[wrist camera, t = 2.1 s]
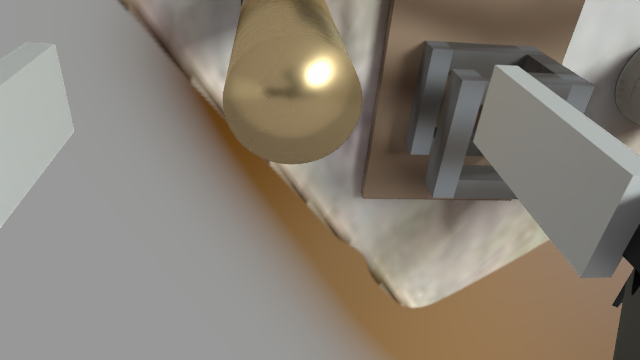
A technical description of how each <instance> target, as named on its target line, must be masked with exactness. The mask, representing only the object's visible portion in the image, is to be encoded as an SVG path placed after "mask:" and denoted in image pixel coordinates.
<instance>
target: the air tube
mask: <svg viewBox="0 0 640 360" xmlns="http://www.w3.org/2000/svg"><path fill="white" fill-rule="evenodd" d="M223 108H224V113H225V117H226V120H227V123H228V125H229V127H230V129H231V131H232V133H233V134H234V136H235V137H236V138H237V139H238V141H239V142H240V143H241V144H242V145H243V146H244V147H246V148H247V149H248V150H249V151H251V152H252V153H254V154H256V155H257V156H259V157H261V158H264V159H266V160H269V161H272V162H276V163H282V164H302V163H308V162H312V161H315V160H318V159H320V158H323V157H325V156H327V155H329V154H330V153H332V152H333V151H335V150H336V149H338V148H339V147H340V146H341V145H342V144H343V143H344V142H345V141H346V140H347V139H348V138H349V136H350V135H351V133H352V132H353V130H354V128H355V126H356V124H357V122H358V119H359V117H360V113H361V108H362V90H361V86H360V82H359V79H358V76H357V74H356V71H355V69H354V67H353V64H352V62H351V60H350V58H349V55H348V53H347V51H346V48H345V46H344V44H343V42H342V39H341V37H340V35H339V32H338V30H337V28H336V26H335V23H334V21H333V19H332V16H331V14H330V12H329V10H328V7H327V5H326V3H325V0H241V12H240V17H239V22H238V26H237V31H236V36H235V40H234V45H233V49H232V54H231V59H230V63H229V68H228V72H227V77H226V82H225V86H224V92H223Z"/></svg>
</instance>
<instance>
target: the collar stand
mask: <svg viewBox="0 0 640 360" xmlns="http://www.w3.org/2000/svg"><path fill="white" fill-rule="evenodd" d="M584 2H585V0H391V5H390V11H389V17H388V24H387V30H386V37H385V43H384V50H383V56H382V62H381V69H380V75H379V82H378V88H377V95H376V101H375V108H374V114H373V120H372V127H371V133H370V140H369V146H368V153H367V159H366V165H365V172H364V178H363V185H362V191H361V193H362V196H363V198H370V199H440V200H510V201H511V200H512V199H518V198H517V197H516V196H515V194H514V193H513V192H512V190H511V189H510V188H509V187H508V185H507V184H506V183H505V182H504V180H503V179H502V178H501V177H500V175H499V174H498V173H497V172H496V170H495V169H494V168H493V166H492V165H491V164H490V163H489V161H488V160H487V159H486V158H485V156H484V155H483V154H482V153H481V151H480V150H479V149H478V148H477V146H476V145H475V144H474V142H473V140H474V136H475V133H476V130H477V126H478V123H479V119H480V116H481V112H482V109H483V105H484V102H485V98H486V95H487V91H488V88H489V84H490V81H491V77H492V74H493V70H494V67H495V65H511V66H519V67H520V68H521V69H523V70H524V71H526V72H527V73H528V74H530V75H531V76H532V77H534V78H535V79H536V80H538V81H539V82H540V83H542V84H543V85H545V86H546V87H547V88H549V89H550V90H551V91H553V92H554V93H555V94H557V95H558V96H560V97H561V98H562V99H564V100H565V101H566V102H568V103H569V104H570V105H572V106H573V107H574V108H576V109H577V110H579V111H580V112H581V113H583V114H584V112H585V110H586V107H587V105H588V102H589V100H590V98H591V95H592V93H593V91H594V88H595V86H594V85H592V84H591V83H589V82H588V81H586V80H584V79H583V78H581V77H580V76H578V75H577V74H575V73H574V72H572V71H571V70H569V69H567V68H566V67H564V66H563V65H562V62H563V59H564V56H565V54H566V51H567V48H568V46H569V43H570V40H571V38H572V35H573V32H574V29H575V27H576V24H577V21H578V19H579V16H580V13H581V11H582V8H583V5H584Z"/></svg>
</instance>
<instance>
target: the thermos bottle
mask: <svg viewBox="0 0 640 360" xmlns="http://www.w3.org/2000/svg"><path fill="white" fill-rule="evenodd" d="M615 98H616V104H617V106H618V108H619V110H620V112H621V113H622V114H623V115H624V116H625V117H627V118H628V119H630V120H631V121H633V122H634V123H636V124H637V125H639V126H640V50H638V51H637V52H636V53H635V54H634V55H633V57H632V58H631V59H630V60H629V61H628V63H627V64H626V66H625V67H624V69H623V70H622V72H621V74H620V76H619V78H618V82H617V85H616V91H615Z"/></svg>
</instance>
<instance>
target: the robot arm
mask: <svg viewBox="0 0 640 360" xmlns="http://www.w3.org/2000/svg"><path fill="white" fill-rule="evenodd" d="M74 131H75V130H74V125H73V121H72V117H71V112H70V107H69V103H68V98H67V94H66V89H65V85H64V81H63V76H62V72H61V68H60V63H59V58H58V54H57V49H56V45H55V43H38V42H25V43H24V44H22V45H21V46H19V47H18V48H16V49H15V50H13V51H12V52H10V53H9V54H7V55H6V56H4V57H3V58H1V59H0V228H1V227H2V225H3V224H4V223H5V221H6V220H7V219H8V218H9V216H10V215H11V214H12V212H13V211H14V210H15V208H16V207H17V206H18V205H19V203H20V202H21V201H22V199H23V198H24V197H25V195H26V194H27V193H28V192H29V190H30V189H31V188H32V186H33V185H34V184H35V182H36V181H37V180H38V178H39V177H40V176H41V175H42V173H43V172H44V171H45V169H46V168H47V167H48V165H49V164H50V163H51V161H52V160H53V159H54V158H55V156H56V155H57V154H58V152H59V151H60V150H61V148H62V147H63V146H64V145H65V143H66V142H67V141H68V139H69V138H70V137H71V135H72V134H73V133H74ZM473 142H474V144H475V145H476V146H477V148H478V149H479V150H480V151H481V153H482V154H483V155H484V156H485V158H486V159H487V160H488V161H489V163H490V164H491V165H492V166H493V168H494V169H495V170H496V172H497V173H498V174H499V175H500V177H501V178H502V179H503V180H504V182H505V183H506V184H507V185H508V187H509V188H510V189H511V190H512V192H513V193H514V194H515V196H516V197H517V198H518V199H519V201H520V202H521V203H522V204H523V206H524V207H525V208H526V209H527V211H528V212H529V213H530V214H531V216H532V217H533V218H534V220H535V221H536V222H537V223H538V225H539V226H540V227H541V228H542V230H543V231H544V232H545V233H546V235H547V236H548V237H549V238H550V240H551V241H552V242H553V244H554V245H555V246H556V247H557V249H558V250H559V251H560V252H561V254H562V255H563V256H564V257H565V259H566V260H567V261H568V262H569V263H570V265H571V266H572V267H573V269H574V270H575V271H576V273H577V274H578V275H579V276H580V277H581V278H594V277H596V278H597V277H612V275H613V273H614V271H615V270H616V268H617V266H618V264H619V262H620V261H621V259H622V257H624V258H625V259H626V260H627V261H628V262H629V263H630V264H631V265H632V266H633V267H634V269H633V271H632V273H631V274H630V276H629V278H628V280H627V281H626V283H625V285H624V286H623V288H622V289H621V291H620V293H619V295H618V296H617V298H616V300H615V301H614V303H613V306H615V307H618V306H619V305H620V304H621V303H623V304H622V309H621V315H620V321H619V328H618V333H617V339H616V345H615V351H614V357H613V360H640V155H638V154H637V153H636V152H634V151H633V150H632V149H630V148H629V147H628V146H626V145H625V144H623V143H622V142H621V141H619V140H618V139H617V138H615V137H614V136H613V135H611V134H610V133H609V132H607V131H606V130H604V129H603V128H602V127H600V126H599V125H598V124H596V123H595V122H594V121H592V120H591V119H589V118H588V117H587V116H585V115H584V114H583V113H581V112H580V111H579V110H577V109H576V108H574V107H573V106H572V105H570V104H569V103H568V102H566V101H565V100H564V99H562V98H561V97H560V96H558V95H557V94H555V93H554V92H553V91H551V90H550V89H549V88H547V87H546V86H545V85H543V84H542V83H540V82H539V81H538V80H536V79H535V78H534V77H532V76H531V75H530V74H528V73H527V72H526V71H524V70H523V69H521V68H520V67H519V66H511V65H495V67H494V70H493V74H492V77H491V81H490V84H489V88H488V91H487V95H486V98H485V102H484V105H483V109H482V112H481V116H480V119H479V123H478V126H477V130H476V133H475V136H474V140H473Z"/></svg>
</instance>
